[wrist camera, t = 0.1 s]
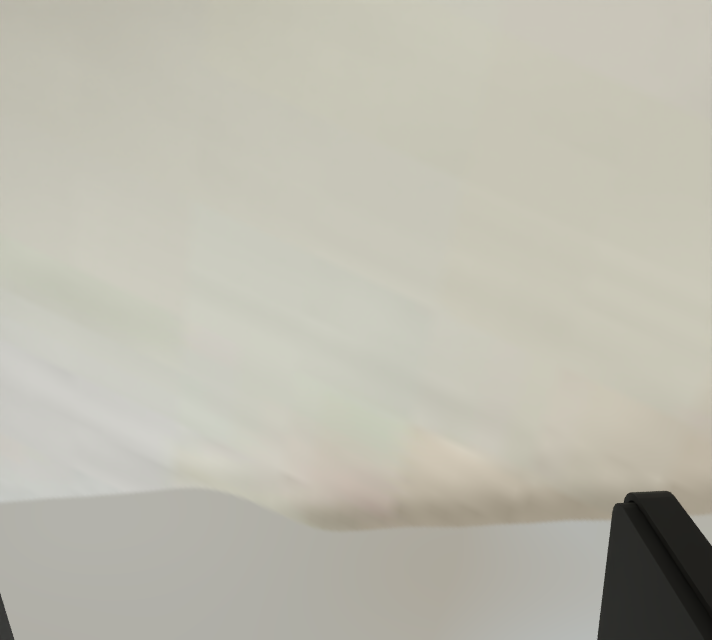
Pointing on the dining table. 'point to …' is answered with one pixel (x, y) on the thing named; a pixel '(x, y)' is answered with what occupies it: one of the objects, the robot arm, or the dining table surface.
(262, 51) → the dining table surface
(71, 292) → the dining table surface
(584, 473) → the dining table surface
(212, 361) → the dining table surface
